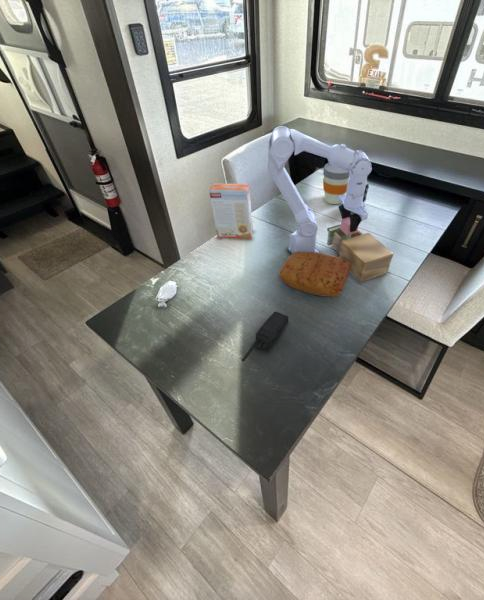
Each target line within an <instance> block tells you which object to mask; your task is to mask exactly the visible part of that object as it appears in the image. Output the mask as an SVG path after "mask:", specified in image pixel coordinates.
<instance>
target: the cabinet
mask: <svg viewBox="0 0 484 600" xmlns="http://www.w3.org/2000/svg"><path fill="white" fill-rule="evenodd" d="M393 257H394V252H393V251H391V250H390V249H389V248H388V247H387V246H385V244H383V243H382V242H381V241H379V240H378V239H377V238H376V237H375V236H374V235H373V234H372V233H370V232H366V233H362V235H359V236H356V237H352V238H349V239H346V240H343V241H341V246H340V253H338V258H342V259H344V260H346V261H348V262H350V263H351V267H350V271H349V274H351V275H352V276H353V277H354V279H356V280H357V281H358V282H359V283H362V282H365V281H368V280H371V279H373V278H377V277H380V276H382V275H384V274H388V272H389V269H390V266H391V263H392V259H393Z"/></svg>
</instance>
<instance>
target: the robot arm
mask: <svg viewBox="0 0 484 600" xmlns="http://www.w3.org/2000/svg"><path fill="white" fill-rule="evenodd" d="M302 152H306V153H310V154H313V155H316V156H319V157H321V158H325V159H327V163H329V164H331V165H334V166H337V167H339V168H342V169H345V170H347V171H350V174H349V179H348V185H347V192H346V194H345V195H341V196H339V200H338V201H339V202H342V203H341V205H338V210H339V213H340V216H341V217H340V218H341V220H342V219H343V218H347V217H349V218H350V232H354V231H356V229H357V227H358V228H359V225H360V224H361V222H363V221H365V220H368V217H369V212H367V211H366V209H365V207H363V205H364V202H363V196H364V191H365V186H366V181H368V176H369V175H370V174H371V172H372V170H373V167H372V162H371V160H370V159H369V156H368V155H367V154H366V153H365V152H364V151H363V150H358V149H356V150H354V149H351V148H348V147H347V145H346V144H345V143H341V144H337V143H336V144H334V145H329V144H327V143H325V142H321V140H320V141H319V140H318V139H315V138H314V137H311V136H309V135H307V134H304V133H302V132H300V131H298V130H297V129H293V128H288V127H286V126H283V125H280V126H277V127H275V128H274V129H273V130H272V132H271V135H270V137H269V140H268V150H267V172H268V174H269V175H270V177H271V178H272V180H273V182H274V183H275V185H276V186H277V188H278V190H279V192H280V193H281V195H282V197H283V198H284V200H285V202H286V203H287V205H288V207H289V208H290V209H291V212H292V214H293V215H294V217H295V221H296V223H297V225H298V226H297V228H296V230H295V231H294V232H293V233H290V235H289V243H288V245H289V246H288V250H289V252H290V253H291V255H292V254H293V253H295V252H313V253H320V251H319V250H318V249H317V248H316V246H317V245H316V244H317V233H318V229H319V228H318V224H317V220H316V213H315V211H314V210H313V209H311V208H310V207H309V206H308V205H307V203H305V201H304V199H303V197H302V196H301V194H300V192H299V190H298V189H297V187H296V185H295V184H294V182H293V179H292V178H291V176H290V175H289V173H288V171H287V169H286V168H285V166H286V163H287V162H288V160H289V159H290V158H291V156H292V155H293V154H294V156H297V155H299V154H300V153H302Z"/></svg>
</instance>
